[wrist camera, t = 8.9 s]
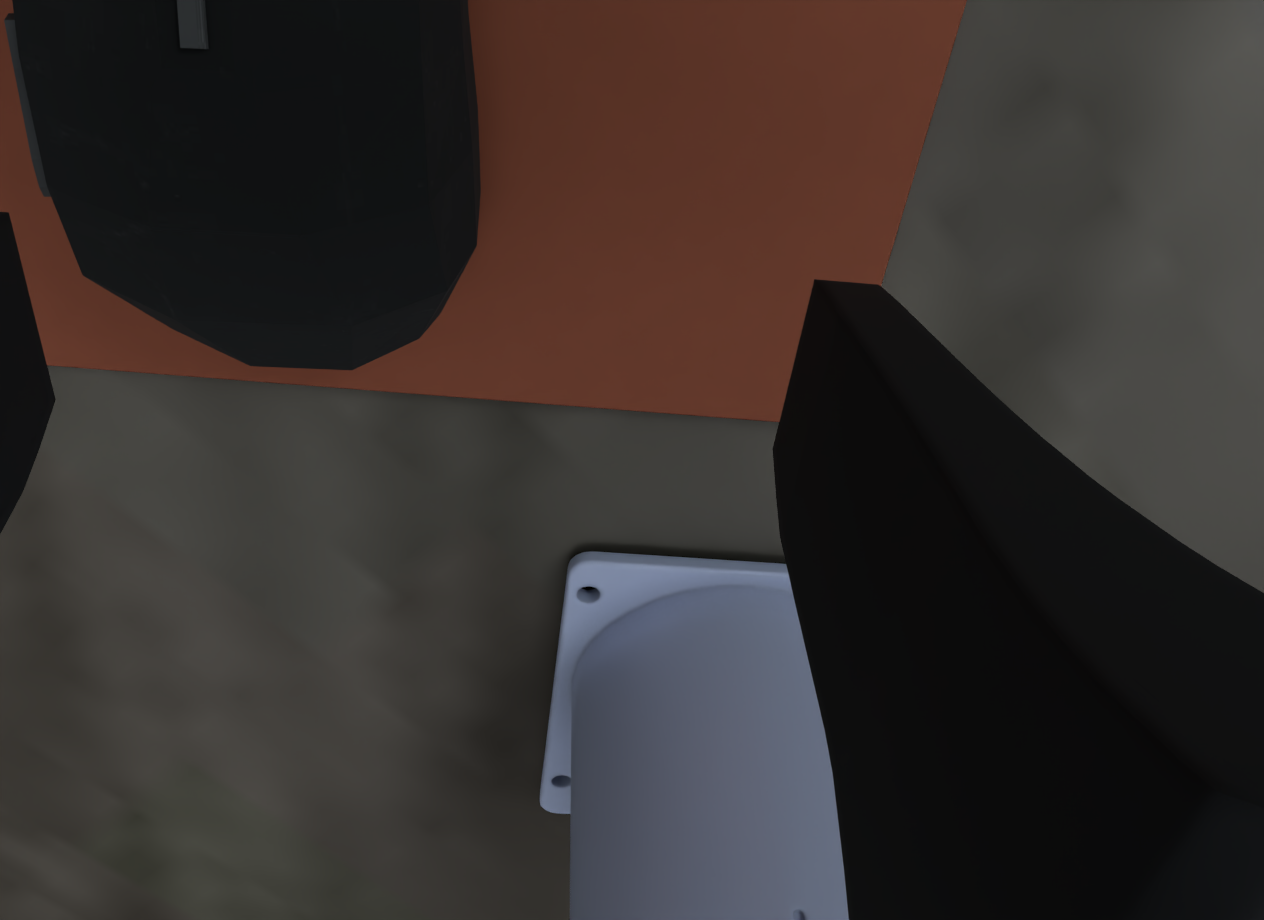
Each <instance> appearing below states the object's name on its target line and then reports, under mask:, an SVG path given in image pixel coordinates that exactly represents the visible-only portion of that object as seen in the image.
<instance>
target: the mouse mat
mask: <svg viewBox="0 0 1264 920" xmlns="http://www.w3.org/2000/svg"><path fill="white" fill-rule="evenodd" d="M966 1H967V0H468V11H469V23H470V33H471V43H472V53H473V63H474V73H475V84H476V94H477V104H478V123H479V152H480V181H481V196H480V209H479V223H478V237H477V246H476V248H475V250H474V252H473V254H472V256H471V258H470V259H469V261H468V263H467V265H466V267H465V269H464V271H463V273H462V274H461V276H460V278H459V280H458V282H457V284H456V286H455V288H454V290H453V291H452V293H451V295H450V297H449V299H448V301H447V303H446V305H445V306H444V308H443V310H442V312H441V314H440V315H439V316H438V317H437V318H436V320H435V321H434V322H433V323H432V324H431V325H430V327H429V328H428V329H427V330H426V331H425V333H424V334H423V335H422V336H421V337H420V338H419V339H418V340H416V341H414V342H411V343H409V344H407V345H405V346H403V347H401V348H399V349H396V350H394V351H392V352H390V353H388V354H386V355H384V356H382V357H379V358H377V359H375V360H373V361H371V362H369V363H367V364H365V365H362V366H360V367H358V368H356V369H354V370H329V369H305V368H281V367H256V366H249V365H247V364H245V363H243V362H240V361H238V360H236V359H234V358H232V357H230V356H228V355H226V354H224V353H222V352H219V351H217V350H215V349H213V348H211V347H209V346H207V345H205V344H203V343H200V342H198V341H196V340H194V339H192V338H190V337H188V336H186V335H184V334H182V333H179V332H177V331H175V330H173V329H171V328H170V327H168V326H166V325H165V324H163V323H161V322H160V321H158V320H156V319H155V318H153V317H151V316H150V315H148V314H146V313H145V312H143V311H141V310H140V309H138V308H136V307H135V306H133V305H131V304H130V303H128V302H126V301H124V300H123V299H121V298H119V297H118V296H116V295H114V294H113V293H111V292H109V291H108V290H106V289H104V288H103V287H101V286H99V285H98V284H96V283H94V282H93V281H91V280H89V279H88V278H86V277H84V276H83V275H82V273H81V270H80V268H79V265H78V263H77V260H76V258H75V255H74V253H73V250H72V248H71V245H70V243H69V240H68V238H67V235H66V233H65V230H64V228H63V225H62V223H61V220H60V218H59V215H58V213H57V210H56V208H55V205H54V203H53V200H52V198H51V197H44V196H43V194H42V192H41V190H40V188H39V185H38V181H37V178H36V174H35V170H34V167H33V163H32V159H31V154H30V149H29V144H28V139H27V134H26V129H25V124H24V119H23V114H22V109H21V104H20V99H19V93H18V88H17V83H16V78H15V73H14V68H13V63H12V58H11V53H10V48H9V43H8V38H7V33H6V28H5V23H4V19H5V18H6V16H7V15H8V13H14V11H13V3H12V0H0V212H9V215H10V219H11V223H12V227H13V231H14V235H15V239H16V243H17V247H18V251H19V255H20V259H21V263H22V267H23V271H24V275H25V279H26V283H27V287H28V291H29V295H30V299H31V304H32V308H33V312H34V316H35V320H36V324H37V328H38V332H39V336H40V340H41V344H42V348H43V352H44V356H45V360H46V364H47V365H50V366H63V367H76V368H89V369H102V370H114V371H127V372H140V373H153V374H166V375H179V376H192V377H205V378H217V379H230V380H243V381H256V382H269V383H282V384H295V385H308V386H320V387H333V388H346V389H359V390H372V391H385V392H398V393H411V394H423V395H436V396H449V397H462V398H475V399H488V400H501V401H514V402H526V403H539V404H552V405H565V406H578V407H591V408H604V409H616V410H629V411H642V412H655V413H668V414H681V415H694V416H707V417H719V418H732V419H745V420H758V421H771V422H780V418H781V413H782V409H783V405H784V401H785V397H786V393H787V389H788V385H789V381H790V377H791V373H792V369H793V364H794V360H795V356H796V352H797V348H798V344H799V340H800V336H801V332H802V328H803V324H804V319H805V315H806V311H807V307H808V303H809V299H810V295H811V291H812V287H813V283H814V279H817V280H829V281H841V282H854V283H866V284H878V285H879V286H881V284H882V281H883V278H884V274H885V271H886V268H887V264H888V261H889V258H890V254H891V251H892V248H893V244H894V241H895V238H896V234H897V231H898V228H899V224H900V221H901V218H902V214H903V211H904V208H905V204H906V201H907V198H908V194H909V191H910V188H911V184H912V181H913V178H914V174H915V171H916V168H917V164H918V161H919V158H920V154H921V151H922V148H923V144H924V141H925V138H926V135H927V131H928V128H929V125H930V121H931V118H932V115H933V111H934V108H935V105H936V101H937V98H938V95H939V91H940V88H941V85H942V81H943V78H944V75H945V71H946V68H947V65H948V61H949V58H950V55H951V51H952V48H953V45H954V41H955V38H956V35H957V31H958V28H959V25H960V21H961V18H962V15H963V11H964V8H965V5H966Z"/></svg>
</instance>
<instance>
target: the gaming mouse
mask: <svg viewBox="0 0 1264 920" xmlns="http://www.w3.org/2000/svg"><path fill="white" fill-rule="evenodd" d="M12 3H13V11H14V13H8V15H7V16H6V18H5V19H4V23H5V28H6V33H7V38H8V43H9V48H10V53H11V58H12V63H13V68H14V73H15V78H16V83H17V88H18V93H19V99H20V104H21V109H22V114H23V119H24V124H25V129H26V134H27V139H28V144H29V149H30V154H31V159H32V163H33V167H34V170H35V174H36V178H37V181H38V185H39V188H40V190H41V192H42V194H43V196H44V197H51V198H52V200H53V203H54V205H55V208H56V210H57V213H58V215H59V218H60V220H61V223H62V225H63V228H64V230H65V233H66V235H67V238H68V240H69V243H70V245H71V248H72V250H73V253H74V255H75V258H76V260H77V263H78V265H79V268H80V270H81V273H82V275H83V276H84V277H86V278H88V279H89V280H91V281H93V282H94V283H96V284H98V285H99V286H101V287H103V288H104V289H106V290H108V291H109V292H111V293H113V294H114V295H116V296H118V297H119V298H121V299H123V300H124V301H126V302H128V303H130V304H131V305H133V306H135V307H136V308H138V309H140V310H141V311H143V312H145V313H146V314H148V315H150V316H151V317H153V318H155V319H156V320H158V321H160V322H161V323H163V324H165V325H166V326H168V327H170V328H171V329H173V330H175V331H177V332H179V333H182V334H184V335H186V336H188V337H190V338H192V339H194V340H196V341H198V342H200V343H203V344H205V345H207V346H209V347H211V348H213V349H215V350H217V351H219V352H222V353H224V354H226V355H228V356H230V357H232V358H234V359H236V360H238V361H240V362H243V363H245V364H247V365H249V366H256V367H281V368H305V369H329V370H354V369H356V368H358V367H360V366H362V365H365V364H367V363H369V362H371V361H373V360H375V359H377V358H379V357H382V356H384V355H386V354H388V353H390V352H392V351H394V350H396V349H399V348H401V347H403V346H405V345H407V344H409V343H411V342H414V341H416V340H418V339H419V338H420V337H421V336H422V335H423V334H424V333H425V331H426V330H427V329H428V328H429V327H430V325H431V324H432V323H433V322H434V321H435V320H436V318H437V317H438V316H439V315H440V314H441V312H442V310H443V308H444V306H445V305H446V303H447V301H448V299H449V297H450V295H451V293H452V291H453V290H454V288H455V286H456V284H457V282H458V280H459V278H460V276H461V274H462V273H463V271H464V269H465V267H466V265H467V263H468V261H469V259H470V258H471V256H472V254H473V252H474V250H475V248H476V246H477V237H478V223H479V209H480V196H481V181H480V152H479V123H478V104H477V94H476V84H475V73H474V63H473V53H472V43H471V33H470V23H469V11H468V0H12Z"/></svg>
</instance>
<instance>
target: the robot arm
mask: <svg viewBox="0 0 1264 920" xmlns="http://www.w3.org/2000/svg"><path fill="white" fill-rule="evenodd" d="M54 403H55V396H54V392H53V388H52V384H51V380H50V376H49V372H48V368H47V364H46V360H45V356H44V352H43V348H42V344H41V340H40V336H39V332H38V328H37V324H36V320H35V316H34V312H33V308H32V304H31V299H30V295H29V291H28V287H27V283H26V279H25V275H24V271H23V267H22V263H21V259H20V255H19V251H18V247H17V243H16V239H15V235H14V231H13V227H12V223H11V219H10V215H9V212H0V533H1V531H2V530H3V528H4V526H5V524H6V522H7V520H8V519H9V517H10V515H11V513H12V511H13V509H14V507H15V505H16V503H17V502H18V500H19V498H20V496H21V494H22V492H23V490H24V487H25V485H26V482H27V479H28V477H29V474H30V472H31V469H32V466H33V464H34V461H35V458H36V456H37V453H38V451H39V448H40V445H41V442H42V439H43V436H44V433H45V430H46V427H47V424H48V421H49V418H50V415H51V412H52V409H53V406H54ZM773 458H774V472H775V485H776V498H777V509H778V519H779V529H780V538H781V543H782V547H783V552H784V557H785V561H786V564H781V563H765V562H750V561H734V560H719V559H704V558H688V557H673V556H658V555H642V554H627V553H611V552H596V551H590V552H583V553H580V554H577V555H575V556H574V557H573V558H572V559H571V560H570V562H569V565H568V569H567V577H566V585H565V593H564V601H563V609H562V617H561V625H560V633H559V641H558V649H557V657H556V665H555V673H554V681H553V689H552V697H551V705H550V714H549V722H548V730H547V738H546V746H545V754H544V762H543V770H542V778H541V786H540V806H541V807H542V808H543V809H545V810H546V811H549V812H551V813H559V814H571V819H570V920H1264V593H1262V592H1261V591H1259V590H1257V589H1256V588H1254V587H1252V586H1250V585H1249V584H1247V583H1245V582H1244V581H1242V580H1240V579H1239V578H1237V577H1235V576H1234V575H1232V574H1230V573H1228V572H1227V571H1225V570H1223V569H1222V568H1220V567H1218V566H1217V565H1215V564H1214V563H1212V562H1211V561H1209V560H1207V559H1206V558H1204V557H1203V556H1201V555H1200V554H1198V553H1197V552H1195V551H1193V550H1192V549H1190V548H1189V547H1187V546H1186V545H1184V544H1183V543H1181V542H1180V541H1178V540H1177V539H1175V538H1174V537H1172V536H1171V535H1170V534H1168V533H1167V532H1165V531H1164V530H1162V529H1161V528H1160V527H1158V526H1157V525H1155V524H1154V523H1152V522H1151V521H1150V520H1148V519H1147V518H1145V517H1144V516H1142V515H1141V514H1140V513H1138V512H1137V511H1135V510H1134V509H1132V508H1131V507H1130V506H1128V505H1127V504H1125V503H1124V502H1123V501H1121V500H1120V499H1118V498H1117V497H1116V496H1114V495H1113V494H1112V493H1110V492H1109V491H1108V490H1106V489H1105V488H1104V487H1102V486H1101V485H1100V484H1099V483H1097V482H1096V481H1095V480H1093V479H1092V478H1091V477H1089V476H1088V475H1087V474H1086V473H1084V472H1083V471H1082V470H1081V469H1080V468H1078V467H1077V466H1076V465H1075V464H1074V463H1072V462H1071V461H1070V460H1069V459H1068V458H1066V457H1065V456H1064V455H1063V454H1062V453H1060V452H1059V451H1058V450H1057V449H1056V448H1054V447H1053V446H1052V445H1051V444H1049V443H1048V442H1047V441H1046V440H1045V439H1043V438H1042V437H1041V436H1040V435H1039V434H1037V433H1036V432H1035V431H1034V430H1033V429H1032V428H1031V427H1030V426H1028V425H1027V424H1026V423H1025V422H1024V421H1023V420H1022V419H1021V418H1019V417H1018V416H1017V415H1016V414H1015V413H1014V412H1013V411H1012V410H1010V409H1009V408H1008V407H1007V406H1006V405H1005V404H1004V403H1003V402H1002V401H1001V400H1000V399H998V398H997V397H996V396H995V395H994V394H993V393H992V392H991V391H990V390H989V389H988V388H987V387H986V386H985V385H984V384H982V383H981V382H980V381H979V380H978V379H977V378H976V377H975V376H974V375H973V374H972V373H971V372H970V371H969V370H968V369H967V368H966V367H965V366H964V365H963V364H962V363H961V362H959V361H958V360H957V359H956V358H955V357H954V356H953V355H952V354H951V353H950V352H949V351H948V350H947V349H946V348H945V347H944V346H943V345H942V344H941V343H940V342H939V341H938V340H937V339H936V338H935V337H934V336H933V335H932V334H931V333H930V332H929V331H928V330H927V329H926V328H925V327H924V326H923V325H922V324H921V323H920V322H919V321H918V320H917V319H916V318H915V317H914V316H912V315H911V314H910V313H909V312H908V311H907V310H906V309H905V308H904V307H903V306H902V305H901V304H900V303H899V302H898V301H897V300H896V299H895V298H893V297H892V296H891V295H890V294H889V293H888V292H887V291H885V290H884V289H883V288H882V287H881V286H879V285H878V284H866V283H854V282H841V281H829V280H817V279H814V283H813V287H812V291H811V295H810V299H809V303H808V307H807V311H806V315H805V319H804V324H803V328H802V332H801V336H800V340H799V344H798V348H797V352H796V356H795V360H794V364H793V369H792V373H791V377H790V381H789V385H788V389H787V393H786V397H785V401H784V405H783V409H782V413H781V418H780V422H779V426H778V430H777V434H776V438H775V442H774V446H773ZM588 586H590V587H594V588H595V589H591V590H585V589H581V588H583V587H588Z"/></svg>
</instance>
